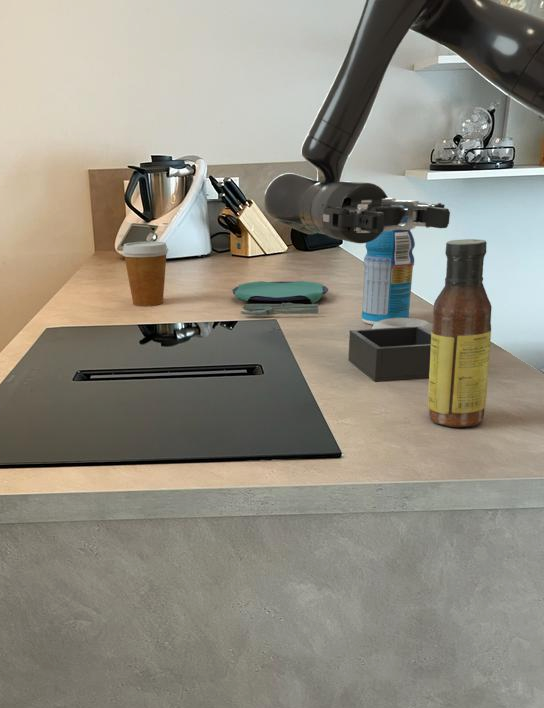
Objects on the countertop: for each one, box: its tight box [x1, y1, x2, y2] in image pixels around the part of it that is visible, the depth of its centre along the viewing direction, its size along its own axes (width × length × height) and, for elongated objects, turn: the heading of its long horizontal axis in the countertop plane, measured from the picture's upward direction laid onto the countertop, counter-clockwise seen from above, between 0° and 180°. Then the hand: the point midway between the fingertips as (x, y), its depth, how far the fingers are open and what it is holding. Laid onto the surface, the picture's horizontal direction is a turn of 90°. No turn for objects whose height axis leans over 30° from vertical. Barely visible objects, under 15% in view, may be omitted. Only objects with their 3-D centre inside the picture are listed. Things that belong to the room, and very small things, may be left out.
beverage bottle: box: [361, 206, 416, 326], centre depth 136 cm, size 8×8×20 cm
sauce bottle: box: [427, 238, 493, 428], centre depth 86 cm, size 6×6×20 cm
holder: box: [347, 326, 431, 383], centre depth 110 cm, size 11×12×4 cm
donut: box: [370, 317, 433, 332], centre depth 124 cm, size 10×4×10 cm
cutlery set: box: [232, 280, 329, 316], centre depth 159 cm, size 20×30×2 cm, turn 171°
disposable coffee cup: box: [121, 240, 169, 307], centre depth 162 cm, size 10×10×12 cm
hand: (414, 220), depth 92 cm, fingers open, 8 cm apart
